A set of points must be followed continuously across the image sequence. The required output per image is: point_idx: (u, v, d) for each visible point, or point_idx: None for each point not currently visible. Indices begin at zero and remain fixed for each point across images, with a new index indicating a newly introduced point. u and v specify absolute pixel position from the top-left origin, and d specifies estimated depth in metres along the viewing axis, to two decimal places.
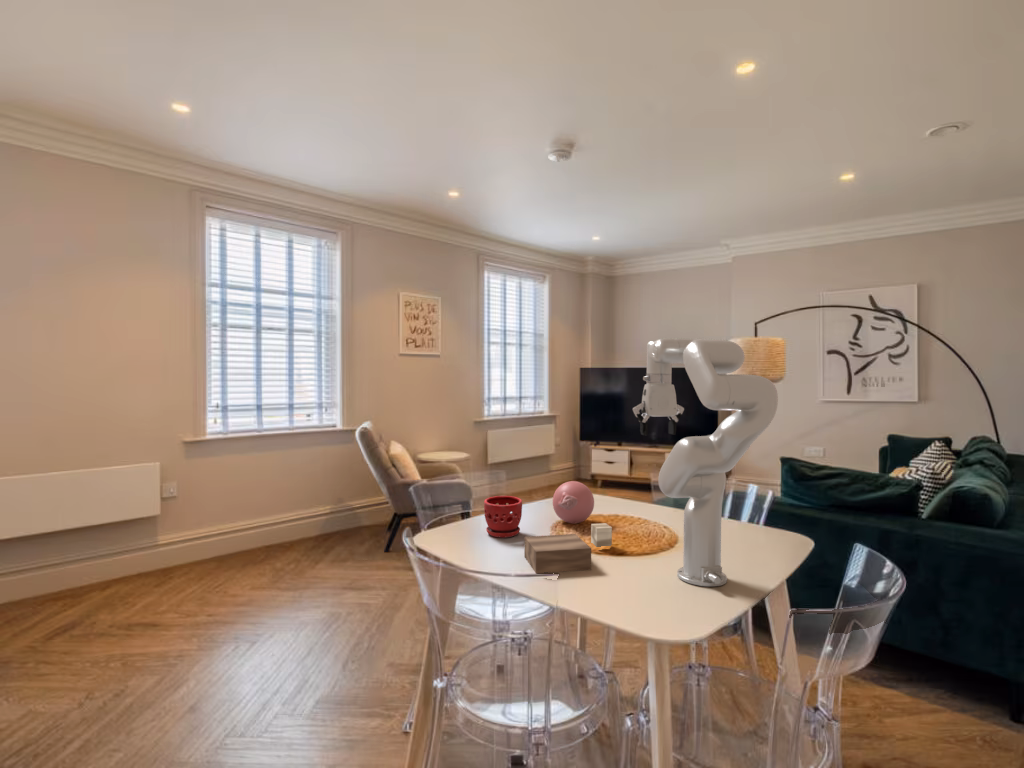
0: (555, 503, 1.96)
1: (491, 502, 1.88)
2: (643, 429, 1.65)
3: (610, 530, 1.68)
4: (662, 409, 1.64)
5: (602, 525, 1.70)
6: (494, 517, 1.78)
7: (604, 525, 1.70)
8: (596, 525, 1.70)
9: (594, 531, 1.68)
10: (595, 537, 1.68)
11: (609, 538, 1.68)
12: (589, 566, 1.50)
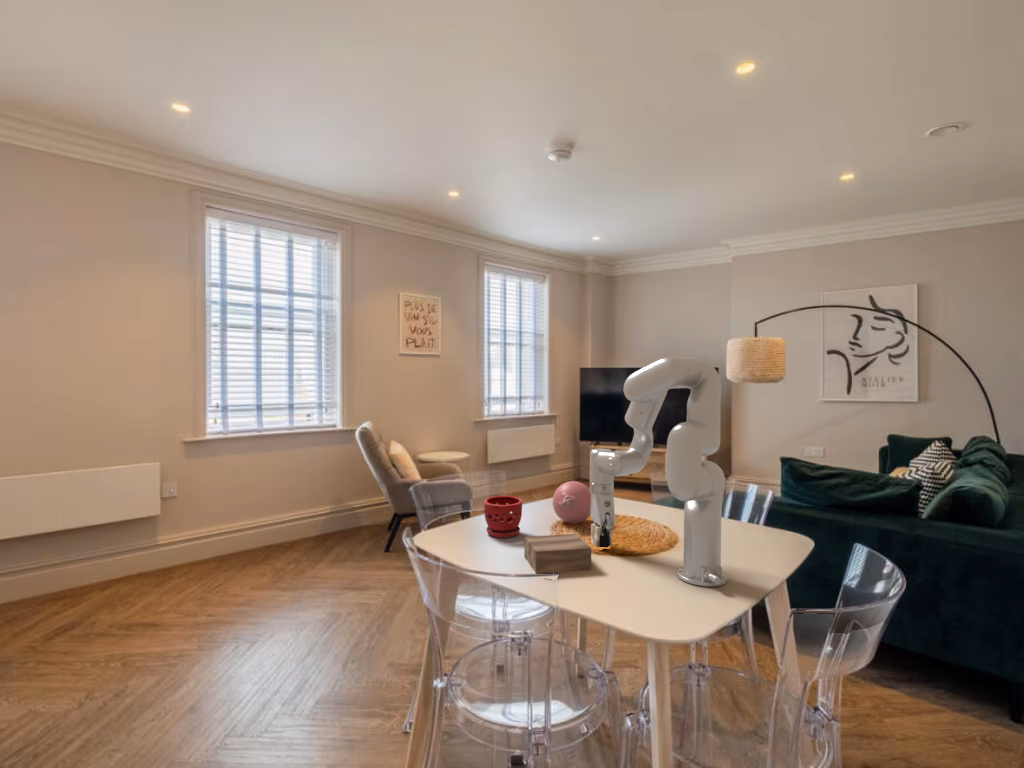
0: (555, 503, 1.96)
1: (491, 502, 1.88)
2: None
3: None
4: None
5: None
6: (494, 517, 1.78)
7: None
8: (596, 525, 1.70)
9: (594, 531, 1.68)
10: (595, 537, 1.68)
11: None
12: (589, 566, 1.50)
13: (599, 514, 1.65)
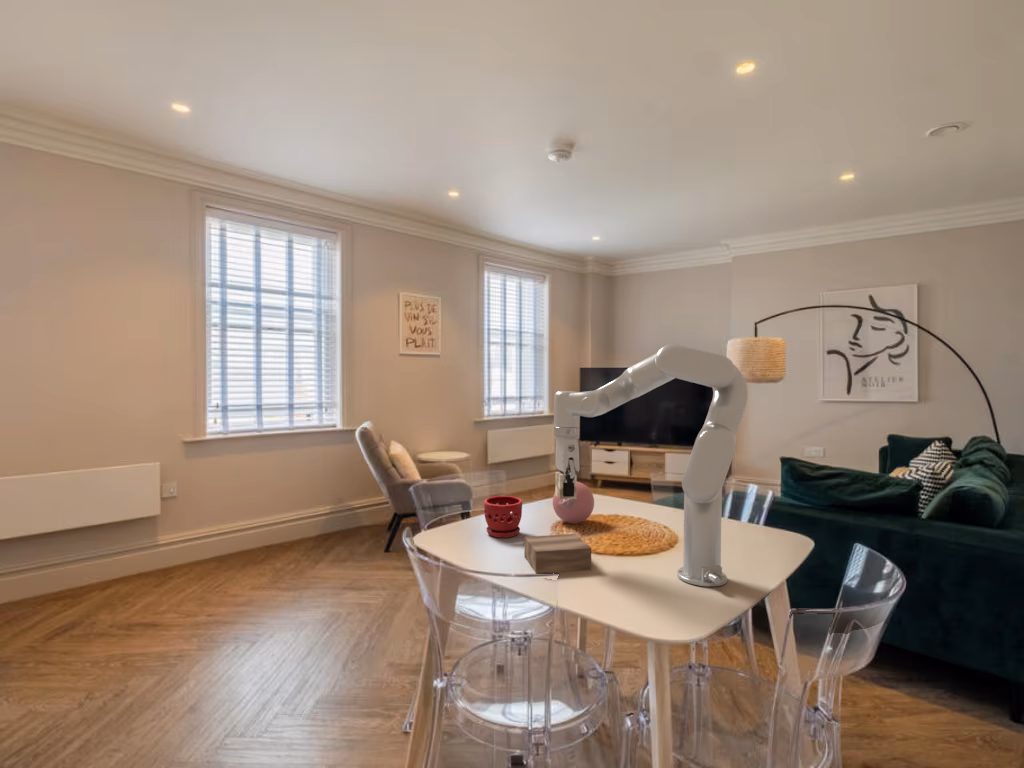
0: (555, 503, 1.96)
1: (491, 502, 1.88)
2: None
3: (575, 477, 1.56)
4: None
5: None
6: (494, 517, 1.78)
7: None
8: (560, 473, 1.58)
9: (558, 479, 1.57)
10: (558, 485, 1.56)
11: None
12: (589, 566, 1.50)
13: (562, 459, 1.54)
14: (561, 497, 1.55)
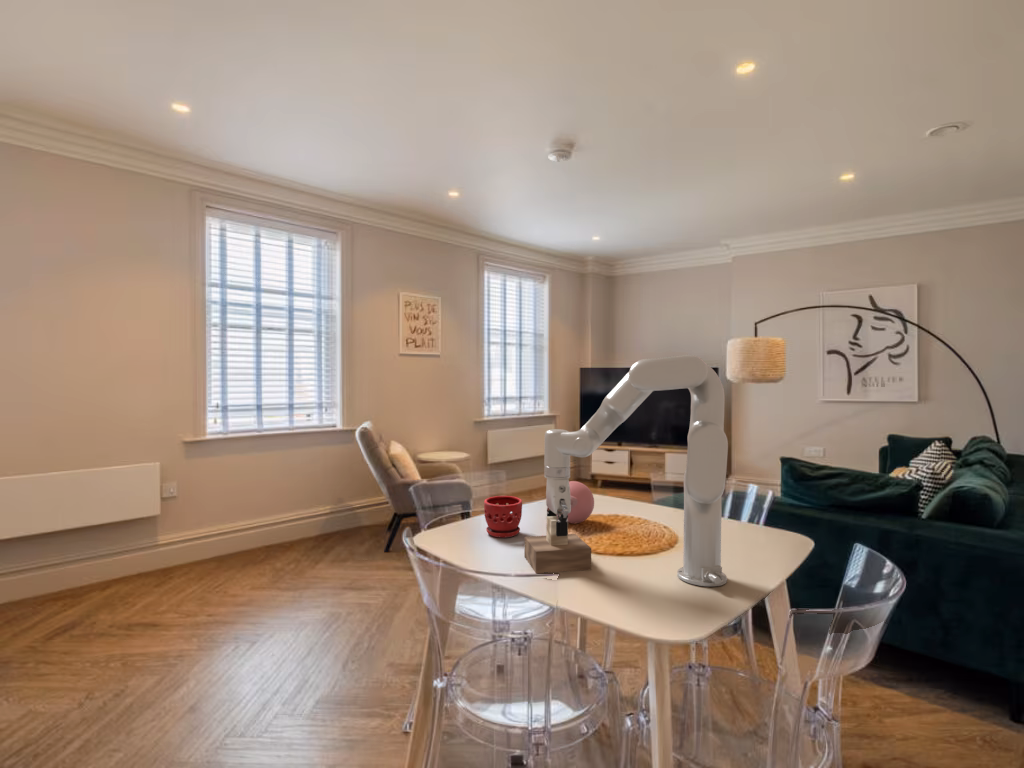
0: None
1: (491, 502, 1.88)
2: None
3: None
4: None
5: None
6: (494, 517, 1.78)
7: None
8: (551, 518, 1.55)
9: (549, 525, 1.54)
10: (550, 531, 1.53)
11: None
12: (589, 566, 1.50)
13: (553, 500, 1.51)
14: (552, 543, 1.52)
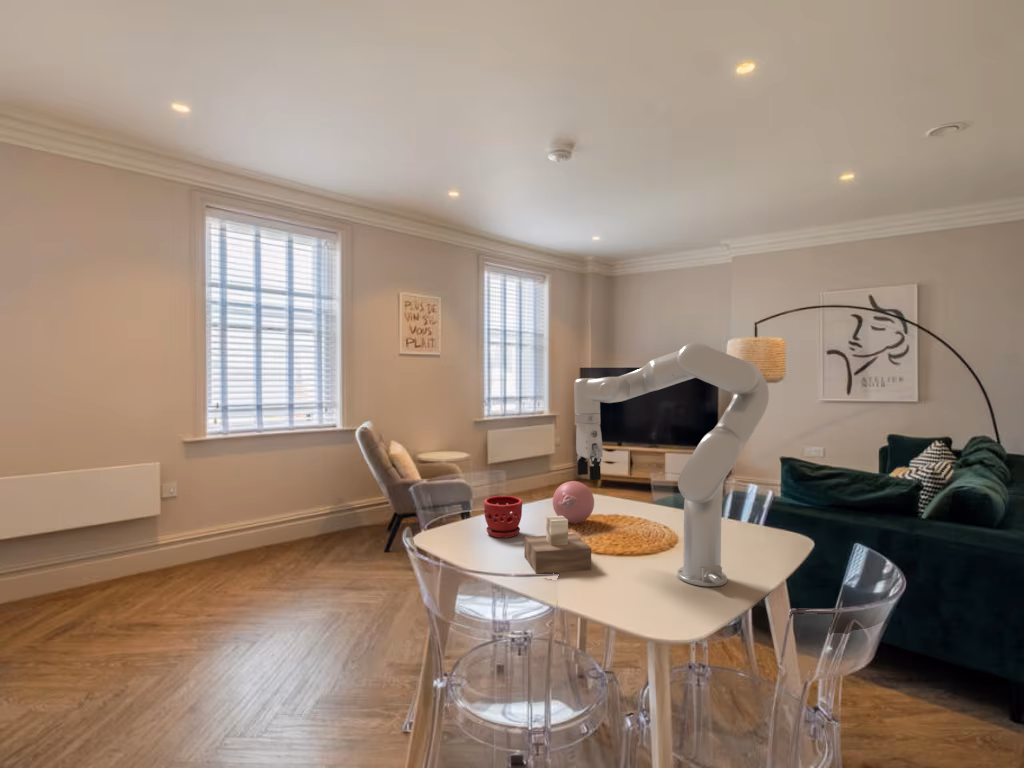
0: (555, 503, 1.96)
1: (491, 502, 1.88)
2: None
3: (566, 523, 1.53)
4: None
5: (557, 517, 1.56)
6: (494, 517, 1.78)
7: (560, 518, 1.56)
8: (551, 518, 1.55)
9: (549, 525, 1.54)
10: (550, 531, 1.53)
11: (565, 532, 1.53)
12: (589, 566, 1.50)
13: (586, 446, 1.55)
14: (552, 543, 1.52)
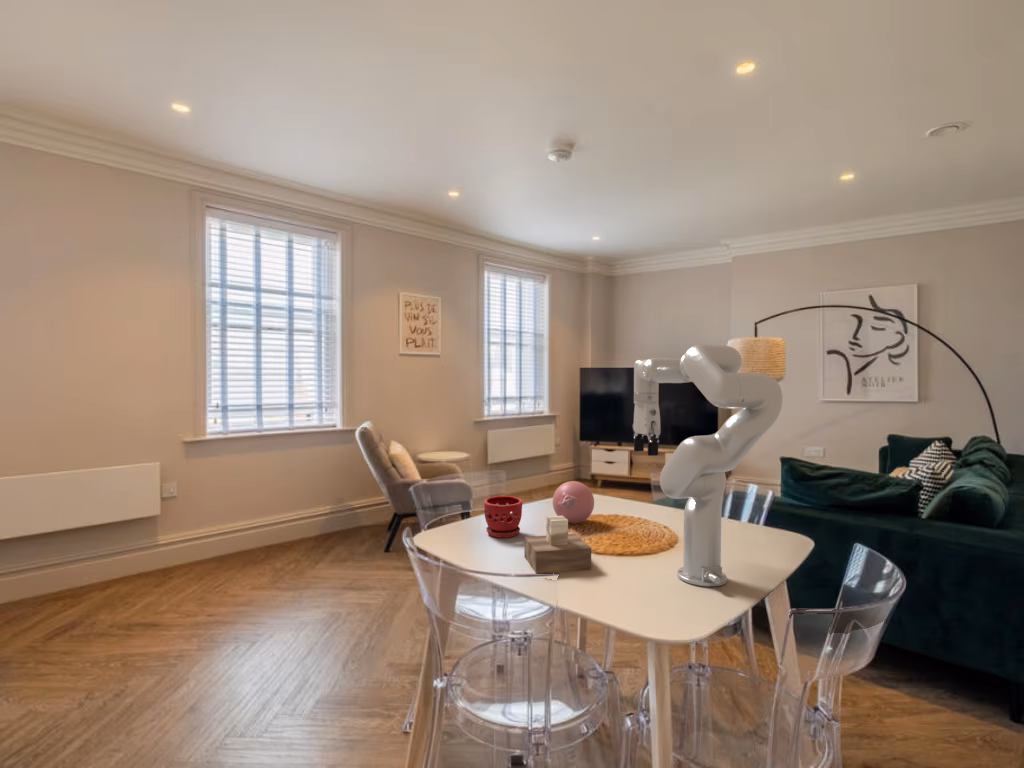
0: (555, 503, 1.96)
1: (491, 502, 1.88)
2: None
3: (566, 523, 1.53)
4: None
5: (557, 517, 1.56)
6: (494, 517, 1.78)
7: (560, 518, 1.56)
8: (551, 518, 1.55)
9: (549, 525, 1.54)
10: (550, 531, 1.53)
11: (565, 532, 1.53)
12: (589, 566, 1.50)
13: (645, 423, 1.64)
14: (552, 543, 1.52)
